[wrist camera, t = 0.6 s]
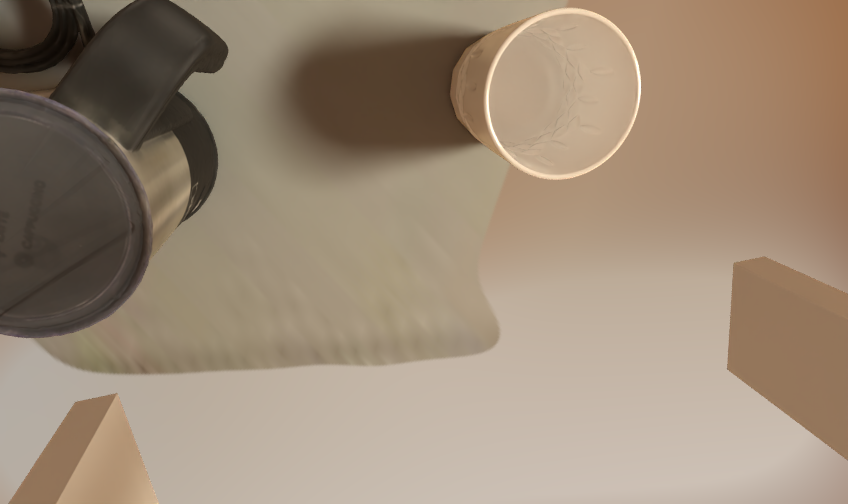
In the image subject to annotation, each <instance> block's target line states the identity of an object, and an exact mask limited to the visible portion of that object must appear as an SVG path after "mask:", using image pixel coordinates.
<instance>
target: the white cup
mask: <svg viewBox="0 0 848 504" xmlns="http://www.w3.org/2000/svg"><path fill="white" fill-rule="evenodd" d="M640 94H641V78H640V70H639V66H638V62H637V58H636V56H635V53H634V51H633V49H632V47H631V45H630V43H629V41H628V40H627V38H626V37H625V36H624V34H623V33H622V32H621V31H620V30H619V29H618V28H617V27H616V26H615V25H614V24H613V23H612V22H610V21H609V20H608V19H606V18H604V17H602V16H601V15H598V14H596V13H594V12H591V11H588V10H584V9H579V8H559V9H554V10H549V11H546V12H543V13H540V14H538V15H535V16H532V17H529V18H526V19H523V20H520V21H517V22H514V23H512V24H509V25H507V26H505V27H502V28H500V29H497V30H495V31H493V32H491V33H489V34H487V35H485V36H484V37H482V38H481V39H479V40H478V41H476V42H475V43H473V44H472V45H470V46H469V47H467V48H466V49H465V51H464V53H463V54H462V56H461V57H460V59H459V61H458V62H457V64H456V66H455V67H454V69H453V73H452V81H451V89H450V98H451V101H452V104H453V107H454V110H455V114H456V117H457V119H458V120H459V121H460V122H461V123H462V124H463V125H464V126H465V127H466V129H467V130H468V131H469V132H470V133H471V134H472V135H473V136H474V137H475V138H476V139H477V140H479V141H480V142H481V143H482V144H484V145H485V146H486V147H487V148H489V149H490V150H491V151H493V152H494V153H496V154H497V155H499V156H500V157H502V158H503V159H505V160H506V161H507V162H509V163H510V164H512V165H513V166H515V167H516V168H518V169H519V170H521V171H523V172H525V173H527V174H529V175H532V176H535V177H538V178H543V179H551V180H553V179H554V180H559V179H567V178H572V177H577V176H580V175H582V174H585V173H587V172H589V171H591V170H593V169H595V168H596V167H598V166H599V165H601V164H602V163H603V162H605V161H606V160H607V159H608V158H610V157H611V156H612V155H613V154H614V153H615V151H616V150H617V149H618V148H619V147H620V146H621V144H622V143H623V141H624V140H625V138H626V137H627V135H628V133H629V132H630V130H631V128H632V125H633V123H634V121H635V118H636V115H637V111H638V107H639V102H640Z"/></svg>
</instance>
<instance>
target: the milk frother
mask: <svg viewBox="0 0 848 504" xmlns="http://www.w3.org/2000/svg"><path fill="white" fill-rule="evenodd" d="M49 2H50V4H51V9H52V12H53V24H52V28H51V31H50V33H49V35H48V36H47V38H46V39H45V40H44V41H43V42H41V43H40V44H38V45H36V46H34V47H31V48H27V49H21V50H8V49H1V48H0V72H4V73H12V74H16V73H32V72H39V71H43V70H46V69H48V68H50V67H52V66H55V65H56V64H57V63H59V62H60V61H62V60H63V59H64V58H65V56H66V55H67V54H68V53H69V51H70V50H71V49H72V47H73V46H74V45H75V42H76V40H77V36H78V32H80V35H81V38H82V42H83V45H84V50H83V51H82V52H81V54H80V55H79V56H78V58H77V59H76V61H75V62H74V63H73V65H72V66H71V67H70V69H69V70H68V72H67V73H66V74H65V76H64V77H63V79H62V80H61V82H60V83H59V84H58V86H57V87H56V89H48V90H39V91H30V92H24V91H20V90H15V89H7V88H0V334H3V335H8V336H14V337H22V338H23V337H24V338H44V337H52V336H61V335H65V334H68V333H74V332H77V331H79V330H82V329H85V328H87V327H90V326H92V325H94V324H96V323H98V322H100V321H101V320H103V319H105V318H107V317H109V316H110V315H112V314H113V313H114V312H115V311H116V310H117V309H118V308H119V307H120V306H121V305H122V304H123V303H124V302H125V301H126V300H127V299H128V298H129V297H130V296H131V295H132V294H133V293H134V291H135V290H136V288H137V287H138V285H139V284H140V282H141V280H142V278H143V275H144V273H145V271H146V268H147V266H148V263H149V261H150V259H151V258H152V257H153V256H154V255H155V253H156V252H157V251H158V250H159V249H160V248H161V246H162V245H163V244H164V243H165V242H166V240H167V239H168V238H169V237H170V235H171V234H172V233H173V232H174V230H175V229H176V228H177V227H178V226H179V225H180V224H181V223H182V222H183V221H185V220H187V219H188V218H190V217H191V216H192V215H193V214H195V213H196V212H197V211H198V210H199V209H200V207H201V206H202V205H203V204H204V202H205V201H206V200H207V198H208V196H209V195H210V193H211V191H212V189H213V187H214V184H215V180H216V176H217V169H218V154H217V148H216V143H215V140H214V137H213V134H212V132H211V130H210V128H209V126H208V124H207V122H206V120H205V119H204V117H203V116H202V114H201V113H200V112H199V111H198V110H197V108H196V107H195V106H194V105H193V104H192V103H191V102H190V101H189V100H188V99H187V98H185V97H184V96H183V95H182V94H181V93H180V92H178V90H179V88H180V87H181V86H182V85H183V83H184V82H185V81H186V80H187V79H188V77H189V76H190V75H191V74H192V73H193V72H204V73H215V72H217V71H218V70H220V69H221V68H222V66H223V64H224V61H225V60H226V57H227V55H228V47H227V45H226V43H225V42H224V41H223V40H222V39H221V38H220V37H219V36H218V35H217V34H216V33H215V32H213V31H212V30H211V29H210V28H209V27H207V26H206V25H205V24H203V23H202V22H201V21H199V20H198V19H197V18H195V17H194V16H192V15H191V14H189V13H188V12H187V11H185V10H184V9H182V8H180V7H179V6H177V5H176V4H174V3H173V2H171V1H169V0H136V1H134V2H132V3H130V4H129V5H127V6H126V7H125V8H123V9H122V10H120V11H119V12H118V13H117V14H115V15H114V16H113V17H112V18H111V19H110V20H109V21H108V22H107V23H106V24H105V25H104V26H103V27H102V28H101V29H100V30H99V32H98V33H97V34H96V35H95V34H94V31H93V28H92V26H91V23H90V20H89V17H88V14H87V12H86V9H85V7H84V5H83V2H82V0H49Z"/></svg>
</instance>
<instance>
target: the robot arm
mask: <svg viewBox="0 0 848 504" xmlns="http://www.w3.org/2000/svg"><path fill="white" fill-rule="evenodd" d="M727 369H728V370H729V371H730V372H731V373H733V374H734V375H736V376H737V377H738V378H739V379H741V380H742V381H743V382H745V383H746V384H747V385H749V386H750V387H751V388H753V389H754V390H755V391H757V392H758V393H759V394H761V395H762V396H763V397H765V398H766V399H768V400H769V401H770V402H771V403H773V404H774V405H775V406H777V407H778V408H779V409H781V410H782V411H783V412H784V413H786V414H787V415H789V416H790V417H791V418H792V419H794V420H795V421H796V422H798V423H799V424H801V425H802V426H803V427H805V428H806V429H807V430H808V431H810V432H811V433H812V434H814V435H815V436H816V437H818V438H819V439H820V440H822V441H823V442H824V443H825V444H827V445H828V446H829V447H831V448H832V449H833V450H835V451H836V452H837V453H839V454H840V455H841V456H843V457H844V458H845V459H847V460H848V294H847V293H845V292H843V291H840V290H838V289H836V288H834V287H831V286H829V285H827V284H825V283H822V282H820V281H818V280H816V279H814V278H811V277H809V276H807V275H805V274H802V273H800V272H798V271H796V270H793V269H791V268H789V267H787V266H785V265H782V264H780V263H778V262H776V261H773V260H771V259H769V258H767V257H760V258H755V259H750V260H745V261H741V262H736V263H734V265H733V281H732V300H731V316H730V331H729V348H728V364H727ZM9 504H159V503H158V500H157V498H156V495H155V492H154V489H153V487H152V484H151V481H150V479H149V476H148V473H147V471H146V468H145V465H144V463H143V460H142V457H141V455H140V452H139V450H138V447H137V444H136V442H135V439H134V436H133V434H132V431H131V428H130V426H129V423H128V420H127V418H126V415H125V412H124V410H123V407H122V404H121V402H120V399H119V396H118V394H117V393H116V394H111V395H107V396H102V397H98V398H92V399H88V400H83V401H78V402H75V403H74V405H73V406H72V408H71V409H70V411H69V412H68V414H67V416H66V417H65V419H64V420H63V422H62V423H61V425H60V426H59V428H58V429H57V431H56V432H55V434H54V435H53V437H52V438H51V440H50V442H49V443H48V444H47V446H46V448H45V449H44V451H43V452H42V454H41V455H40V457H39V458H38V460H37V461H36V463H35V464H34V466H33V467H32V469H31V470H30V472H29V473H28V475H27V476H26V478H25V479H24V481H23V482H22V484H21V486H20V487H19V488H18V490H17V492H16V493H15V495H14V496H13V498H12V499H11V501H10V502H9Z"/></svg>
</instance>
